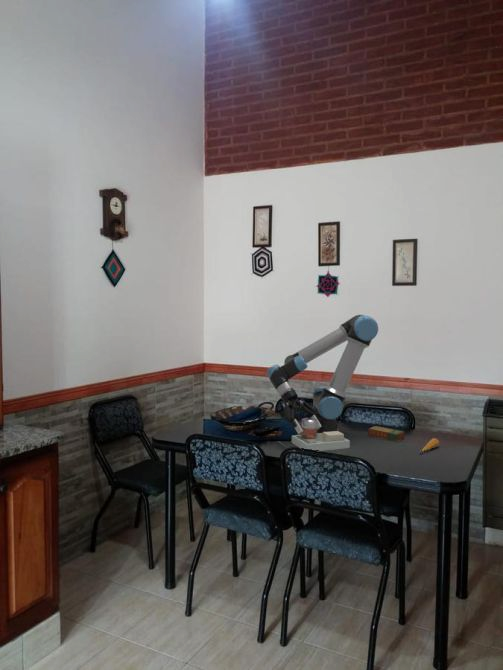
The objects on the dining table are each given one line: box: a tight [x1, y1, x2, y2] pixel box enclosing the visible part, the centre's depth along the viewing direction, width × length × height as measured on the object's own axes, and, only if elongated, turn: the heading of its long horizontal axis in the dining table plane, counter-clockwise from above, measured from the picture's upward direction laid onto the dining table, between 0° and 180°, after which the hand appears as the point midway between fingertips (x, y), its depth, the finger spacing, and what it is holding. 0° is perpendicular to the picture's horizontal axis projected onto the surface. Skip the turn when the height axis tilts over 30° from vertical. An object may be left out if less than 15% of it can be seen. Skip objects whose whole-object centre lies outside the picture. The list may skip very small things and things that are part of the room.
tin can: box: [301, 417, 317, 444], centre depth 259 cm, size 7×7×12 cm
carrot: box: [421, 437, 440, 451], centre depth 257 cm, size 20×4×4 cm, turn 139°
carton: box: [367, 425, 405, 442], centre depth 279 cm, size 8×16×4 cm, turn 52°
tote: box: [291, 433, 351, 452], centre depth 258 cm, size 22×16×4 cm
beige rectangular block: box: [322, 430, 345, 443], centre depth 258 cm, size 8×6×6 cm
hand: (310, 430), depth 258 cm, fingers open, 13 cm apart
